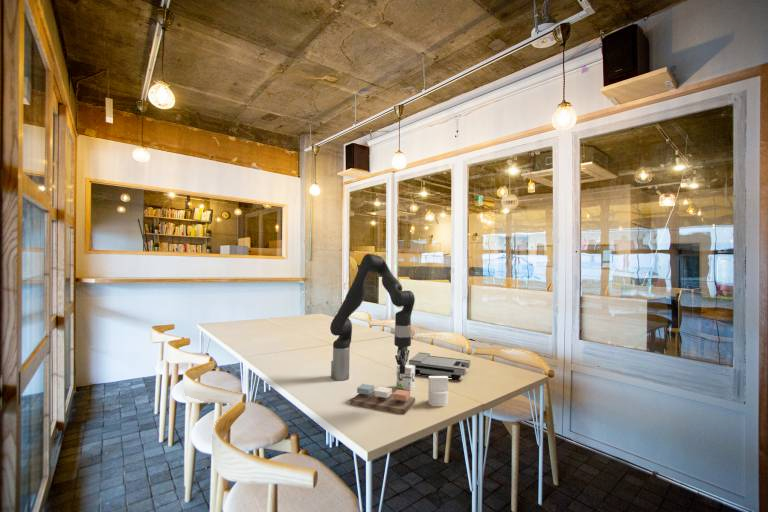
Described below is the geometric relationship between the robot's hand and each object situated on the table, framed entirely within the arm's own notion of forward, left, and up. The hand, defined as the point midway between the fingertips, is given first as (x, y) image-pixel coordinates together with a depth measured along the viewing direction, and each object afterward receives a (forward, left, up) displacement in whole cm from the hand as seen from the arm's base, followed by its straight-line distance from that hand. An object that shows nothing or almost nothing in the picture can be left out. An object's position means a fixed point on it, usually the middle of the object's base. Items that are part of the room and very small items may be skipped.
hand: (402, 373), depth 162 cm
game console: (+4, +57, -15) cm, 59 cm away
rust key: (0, 0, -11) cm, 11 cm away
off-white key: (-9, 0, -11) cm, 14 cm away
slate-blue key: (-18, 0, -11) cm, 21 cm away
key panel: (-9, 0, -15) cm, 17 cm away
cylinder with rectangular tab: (+14, +11, -15) cm, 23 cm away
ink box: (-6, +23, -15) cm, 28 cm away
